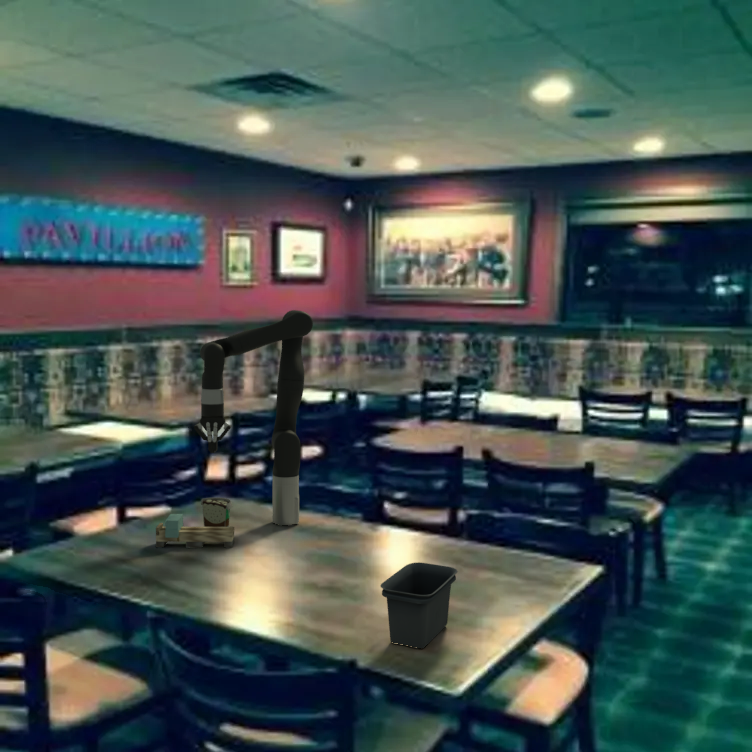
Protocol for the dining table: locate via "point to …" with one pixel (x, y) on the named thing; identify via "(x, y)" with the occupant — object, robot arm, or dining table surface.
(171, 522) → the rider
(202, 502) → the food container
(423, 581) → the storage bin
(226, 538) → the beam
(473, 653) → the dining table surface
